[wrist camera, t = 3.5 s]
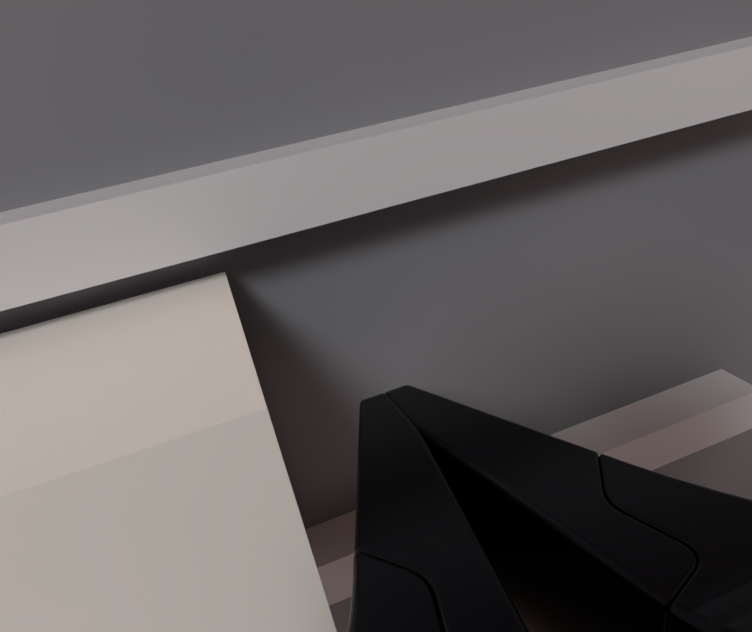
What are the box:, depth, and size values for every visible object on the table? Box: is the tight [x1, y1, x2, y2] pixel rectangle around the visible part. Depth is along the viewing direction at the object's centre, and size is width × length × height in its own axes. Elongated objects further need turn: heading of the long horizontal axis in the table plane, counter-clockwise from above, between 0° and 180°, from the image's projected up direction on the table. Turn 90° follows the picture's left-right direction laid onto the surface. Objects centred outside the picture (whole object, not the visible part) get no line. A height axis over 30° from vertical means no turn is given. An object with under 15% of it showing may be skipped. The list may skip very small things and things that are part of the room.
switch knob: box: [0, 272, 337, 632], centre depth 7 cm, size 4×5×4 cm
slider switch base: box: [0, 0, 752, 632], centre depth 10 cm, size 36×16×4 cm, turn 101°
